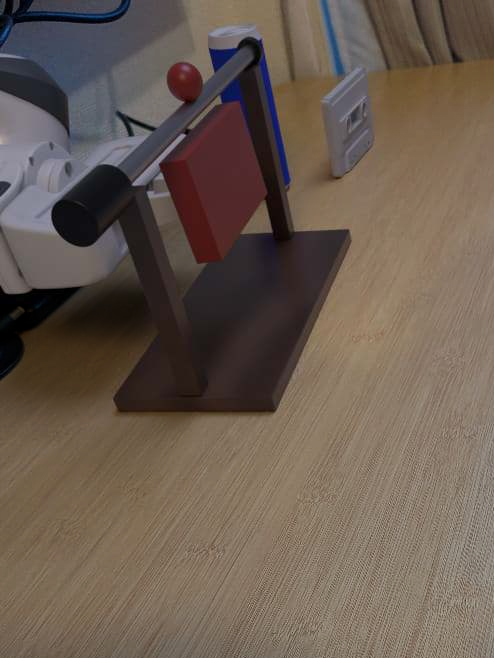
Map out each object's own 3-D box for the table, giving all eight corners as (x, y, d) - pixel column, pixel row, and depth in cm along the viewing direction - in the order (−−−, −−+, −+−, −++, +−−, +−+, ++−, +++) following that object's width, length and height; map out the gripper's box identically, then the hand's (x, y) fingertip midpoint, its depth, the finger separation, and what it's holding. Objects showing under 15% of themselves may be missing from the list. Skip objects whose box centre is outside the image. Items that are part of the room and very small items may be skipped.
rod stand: (117, 412, 60) (28, 202, 49) (229, 246, 78) (182, 69, 68) (275, 411, 57) (217, 192, 47) (351, 241, 76) (322, 57, 66)
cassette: (364, 138, 96) (354, 65, 91) (379, 138, 96) (370, 65, 90) (328, 178, 88) (315, 101, 83) (344, 178, 88) (332, 101, 82)
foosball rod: (121, 364, 50) (26, 174, 42) (268, 159, 73) (225, 13, 65) (160, 360, 49) (71, 166, 41) (296, 155, 72) (255, 7, 65)
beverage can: (271, 177, 91) (237, 20, 80) (301, 186, 88) (269, 24, 77) (234, 193, 88) (194, 34, 78) (263, 203, 85) (226, 39, 75)
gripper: (112, 193, 73) (259, 185, 70) (-5, 306, 59) (174, 302, 56) (85, 117, 69) (241, 105, 66) (-48, 219, 54) (144, 210, 52)
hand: (209, 196), depth 61 cm, fingers closed, pressing on foosball rod
